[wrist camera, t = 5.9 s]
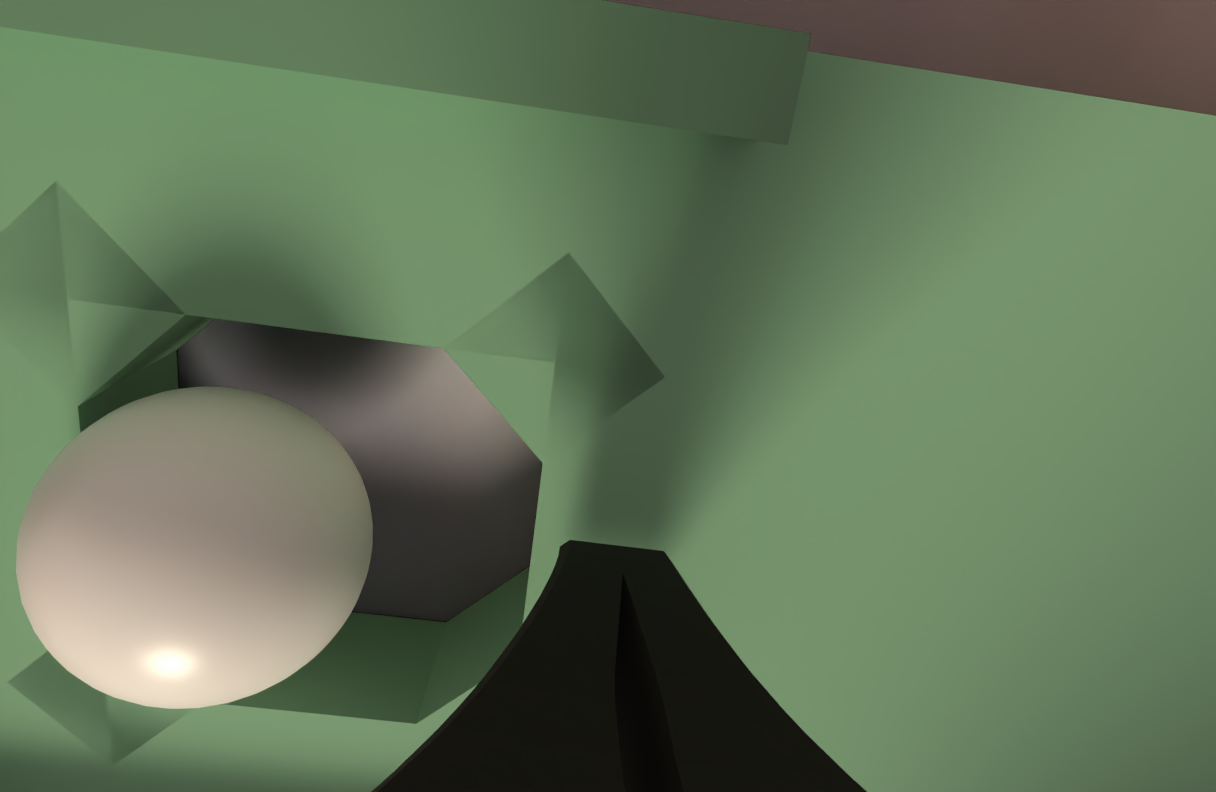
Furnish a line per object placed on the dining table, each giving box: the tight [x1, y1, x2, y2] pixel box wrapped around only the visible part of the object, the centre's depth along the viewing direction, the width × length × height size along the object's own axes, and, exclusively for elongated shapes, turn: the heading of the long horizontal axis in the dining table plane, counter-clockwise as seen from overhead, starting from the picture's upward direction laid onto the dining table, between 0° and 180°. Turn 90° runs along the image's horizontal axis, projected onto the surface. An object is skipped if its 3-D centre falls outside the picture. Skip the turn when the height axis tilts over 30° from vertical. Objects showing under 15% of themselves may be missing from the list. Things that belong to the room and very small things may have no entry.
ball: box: [16, 386, 373, 709], centre depth 10 cm, size 4×4×4 cm
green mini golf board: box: [0, 0, 1216, 792], centre depth 11 cm, size 14×30×4 cm, turn 82°
